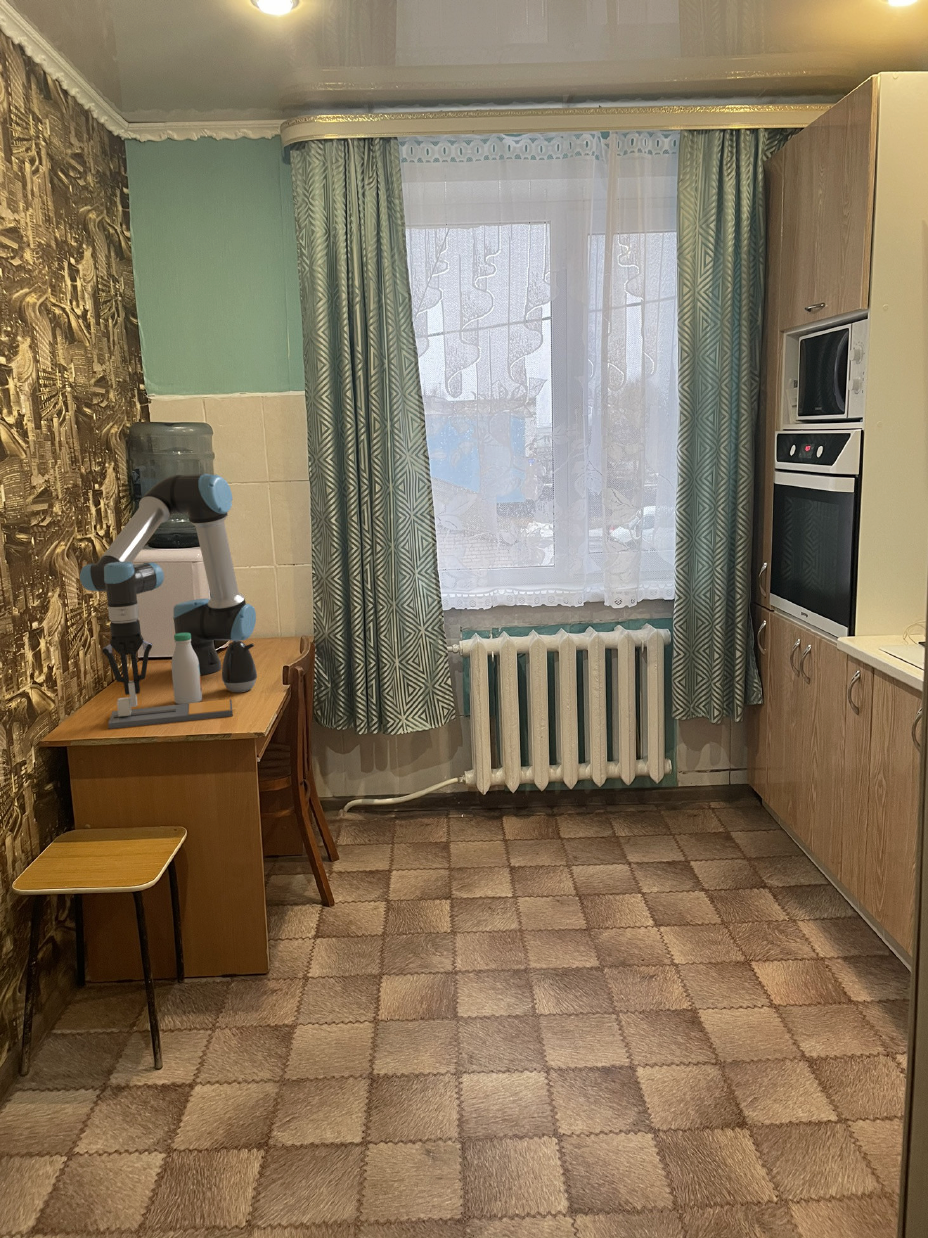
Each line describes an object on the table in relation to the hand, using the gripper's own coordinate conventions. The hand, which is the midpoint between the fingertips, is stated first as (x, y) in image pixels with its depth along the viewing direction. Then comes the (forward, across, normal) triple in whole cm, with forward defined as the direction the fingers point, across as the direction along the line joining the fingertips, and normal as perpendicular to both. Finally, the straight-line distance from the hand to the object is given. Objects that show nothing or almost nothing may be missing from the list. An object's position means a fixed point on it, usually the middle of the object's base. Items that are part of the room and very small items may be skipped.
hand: (134, 705), depth 263 cm
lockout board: (+4, +10, 0) cm, 10 cm away
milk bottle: (+5, +14, +14) cm, 20 cm away
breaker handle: (+2, -3, 0) cm, 3 cm away
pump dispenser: (+5, +29, +21) cm, 36 cm away
